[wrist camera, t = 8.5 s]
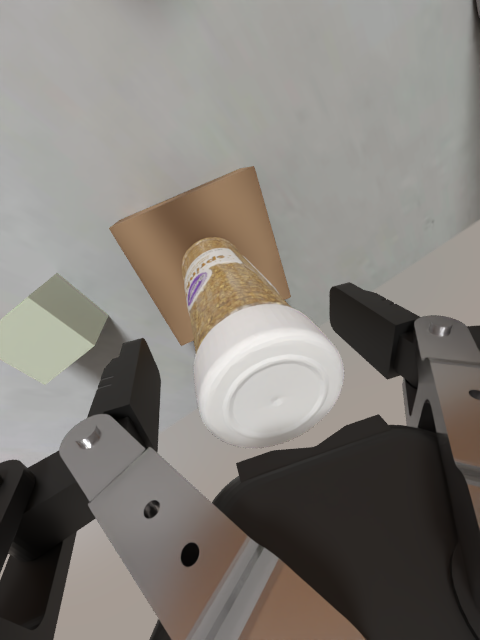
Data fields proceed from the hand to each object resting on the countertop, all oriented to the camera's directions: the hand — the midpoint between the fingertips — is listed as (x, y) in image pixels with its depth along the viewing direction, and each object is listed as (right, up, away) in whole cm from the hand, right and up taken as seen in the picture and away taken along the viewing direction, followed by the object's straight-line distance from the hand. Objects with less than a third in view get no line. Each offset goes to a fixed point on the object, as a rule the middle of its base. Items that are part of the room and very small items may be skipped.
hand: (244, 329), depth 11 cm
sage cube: (-15, +1, +11) cm, 19 cm away
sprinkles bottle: (-2, +4, +8) cm, 10 cm away
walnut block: (-3, +6, +11) cm, 13 cm away
